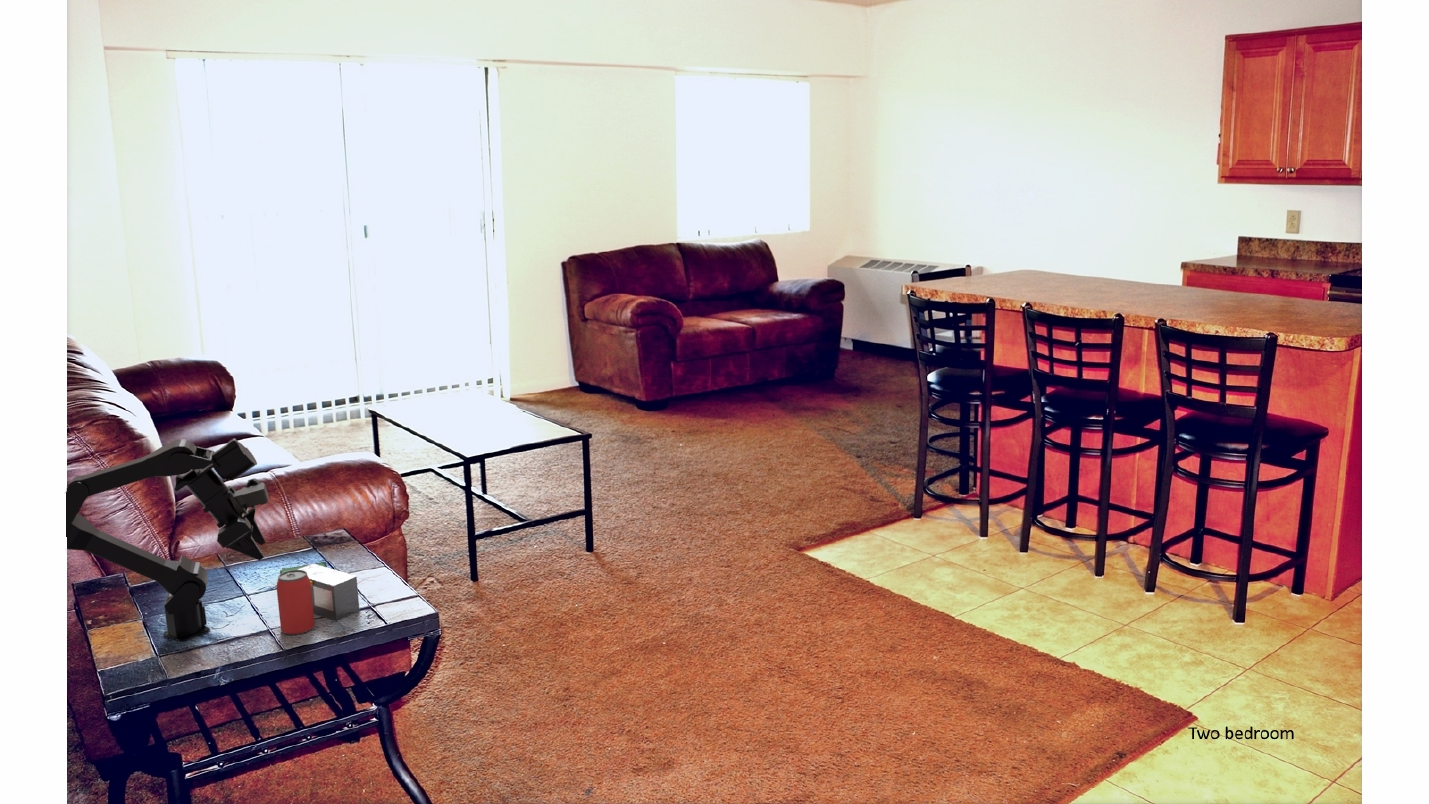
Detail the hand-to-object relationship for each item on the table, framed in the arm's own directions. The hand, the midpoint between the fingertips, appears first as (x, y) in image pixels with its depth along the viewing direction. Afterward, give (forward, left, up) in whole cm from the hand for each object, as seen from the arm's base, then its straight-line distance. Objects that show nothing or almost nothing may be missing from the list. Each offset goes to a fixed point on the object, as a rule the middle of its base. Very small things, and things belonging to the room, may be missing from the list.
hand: (262, 551), depth 220 cm
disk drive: (+16, +10, -16) cm, 25 cm away
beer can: (+1, -8, -16) cm, 18 cm away
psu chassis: (+10, -5, -16) cm, 19 cm away
